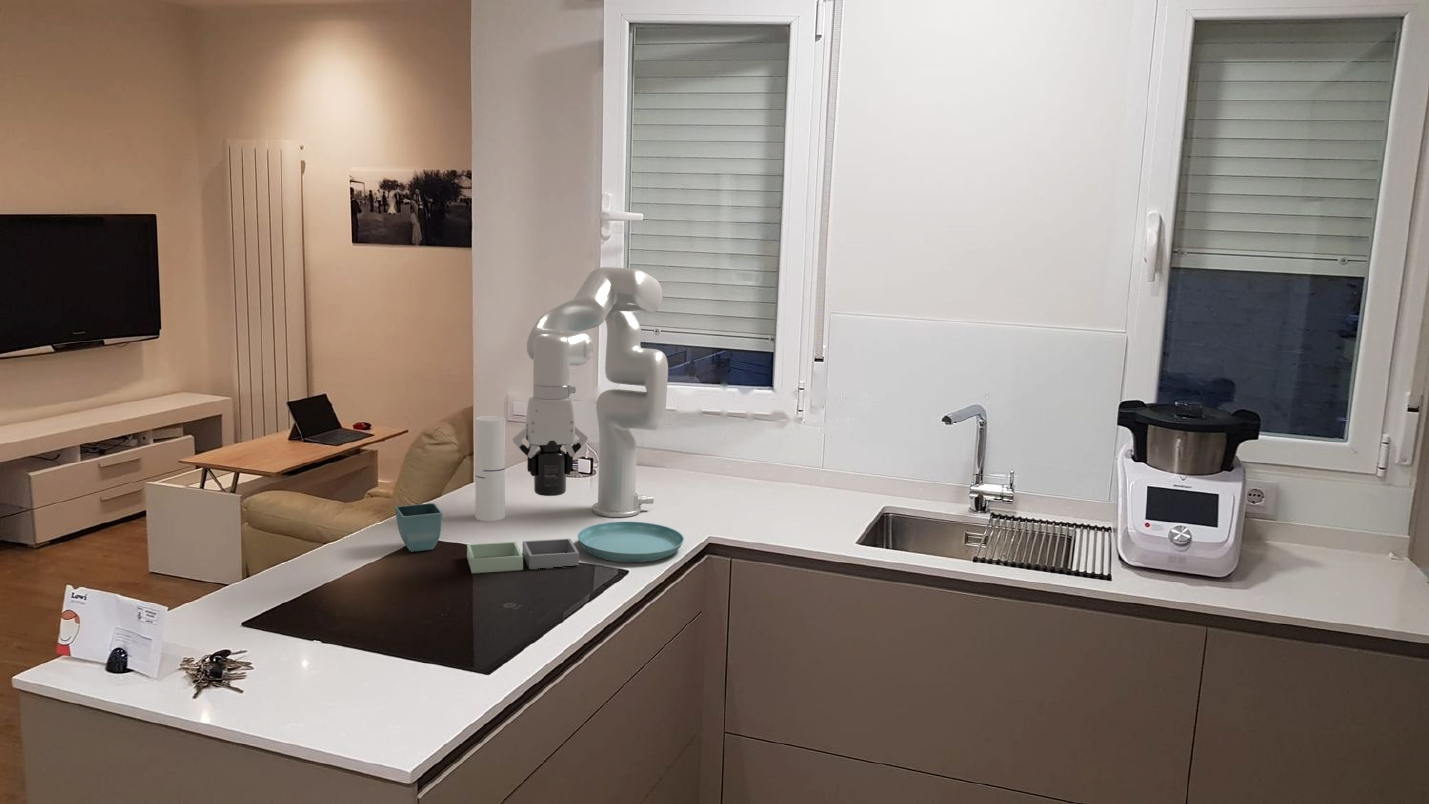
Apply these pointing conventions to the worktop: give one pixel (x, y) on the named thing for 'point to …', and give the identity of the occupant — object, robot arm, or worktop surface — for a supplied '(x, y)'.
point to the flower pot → (419, 525)
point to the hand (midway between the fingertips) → (550, 473)
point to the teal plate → (630, 541)
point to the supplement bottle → (550, 470)
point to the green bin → (494, 557)
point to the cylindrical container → (490, 468)
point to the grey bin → (550, 559)
